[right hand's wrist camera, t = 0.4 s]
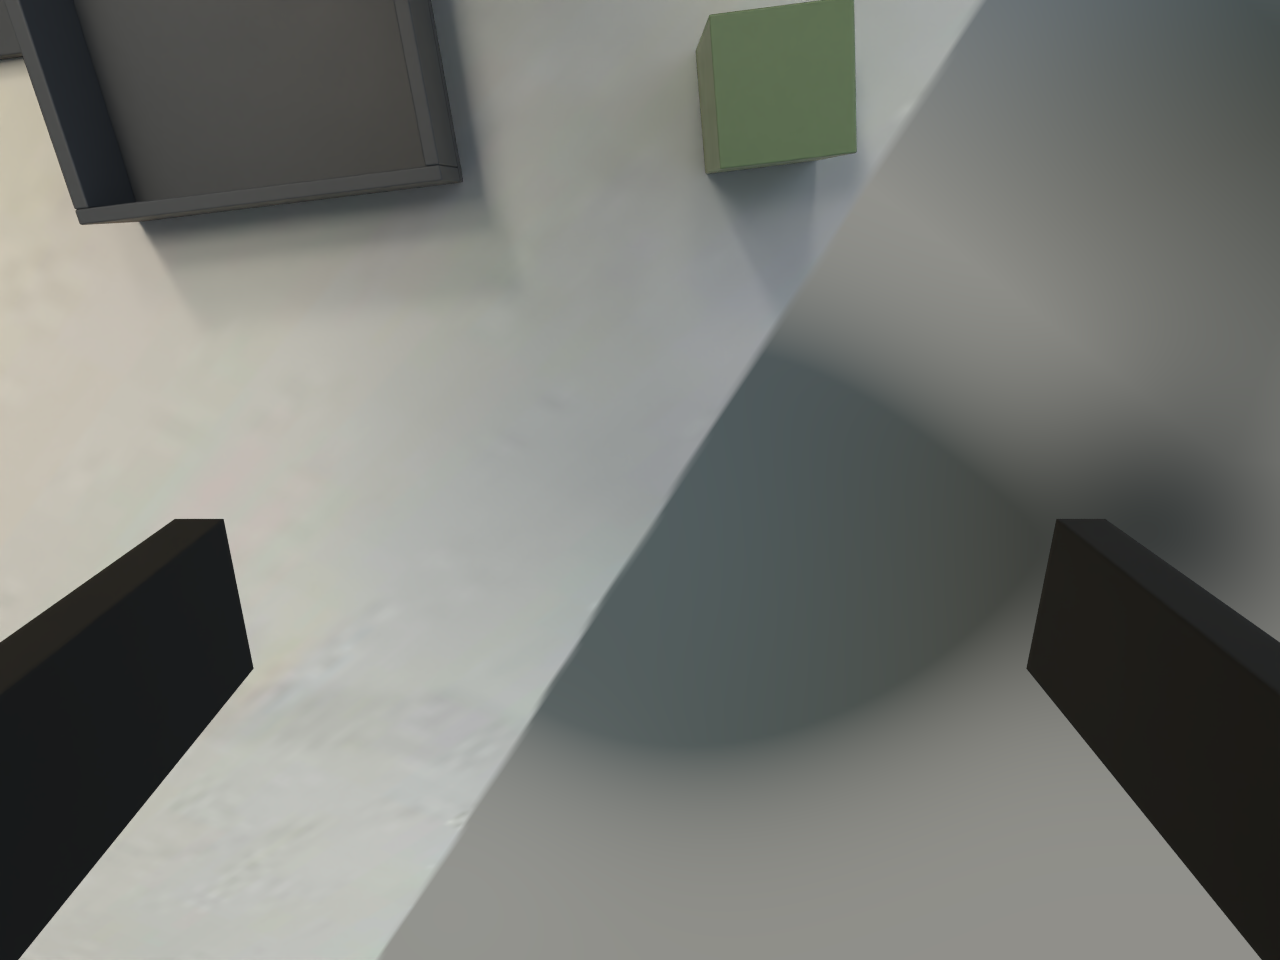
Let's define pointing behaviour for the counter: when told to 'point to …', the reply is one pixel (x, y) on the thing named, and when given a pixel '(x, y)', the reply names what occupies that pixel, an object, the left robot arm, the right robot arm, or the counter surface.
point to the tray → (234, 100)
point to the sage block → (777, 85)
